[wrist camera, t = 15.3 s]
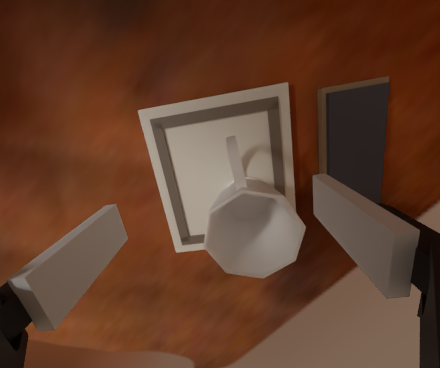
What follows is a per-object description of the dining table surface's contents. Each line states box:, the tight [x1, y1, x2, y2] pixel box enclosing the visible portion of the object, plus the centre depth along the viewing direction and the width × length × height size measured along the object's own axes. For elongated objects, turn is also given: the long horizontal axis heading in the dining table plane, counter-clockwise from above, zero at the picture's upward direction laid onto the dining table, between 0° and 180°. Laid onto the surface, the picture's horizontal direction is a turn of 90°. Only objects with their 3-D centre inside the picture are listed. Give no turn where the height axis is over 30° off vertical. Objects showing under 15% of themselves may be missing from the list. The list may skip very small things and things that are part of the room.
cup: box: [203, 135, 306, 278], centre depth 17 cm, size 7×10×8 cm
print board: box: [138, 82, 296, 253], centre depth 21 cm, size 16×14×1 cm
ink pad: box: [317, 76, 390, 204], centre depth 19 cm, size 12×6×2 cm, turn 9°
